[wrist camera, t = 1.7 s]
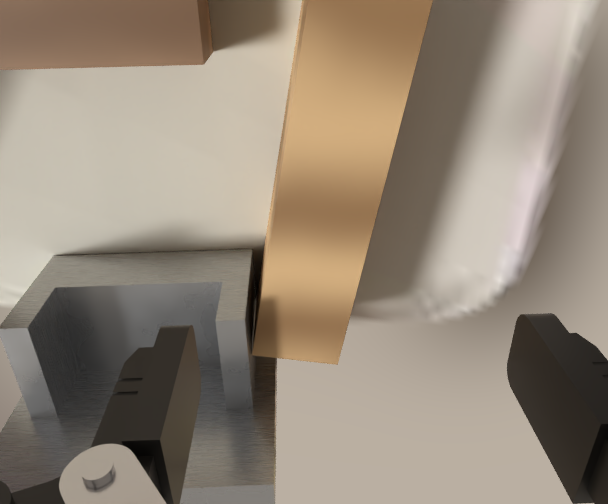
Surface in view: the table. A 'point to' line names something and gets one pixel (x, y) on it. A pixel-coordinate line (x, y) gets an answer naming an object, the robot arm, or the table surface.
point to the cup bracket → (121, 345)
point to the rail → (332, 168)
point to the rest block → (103, 33)
